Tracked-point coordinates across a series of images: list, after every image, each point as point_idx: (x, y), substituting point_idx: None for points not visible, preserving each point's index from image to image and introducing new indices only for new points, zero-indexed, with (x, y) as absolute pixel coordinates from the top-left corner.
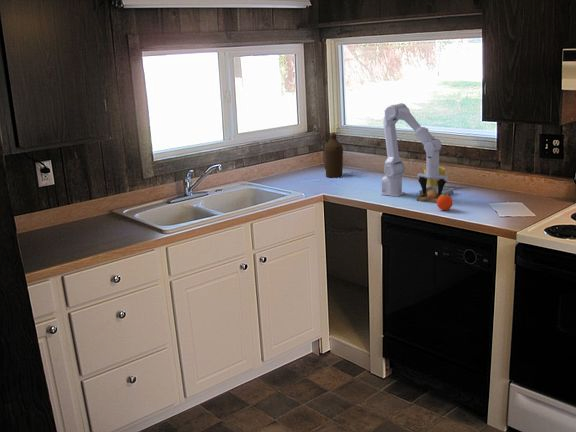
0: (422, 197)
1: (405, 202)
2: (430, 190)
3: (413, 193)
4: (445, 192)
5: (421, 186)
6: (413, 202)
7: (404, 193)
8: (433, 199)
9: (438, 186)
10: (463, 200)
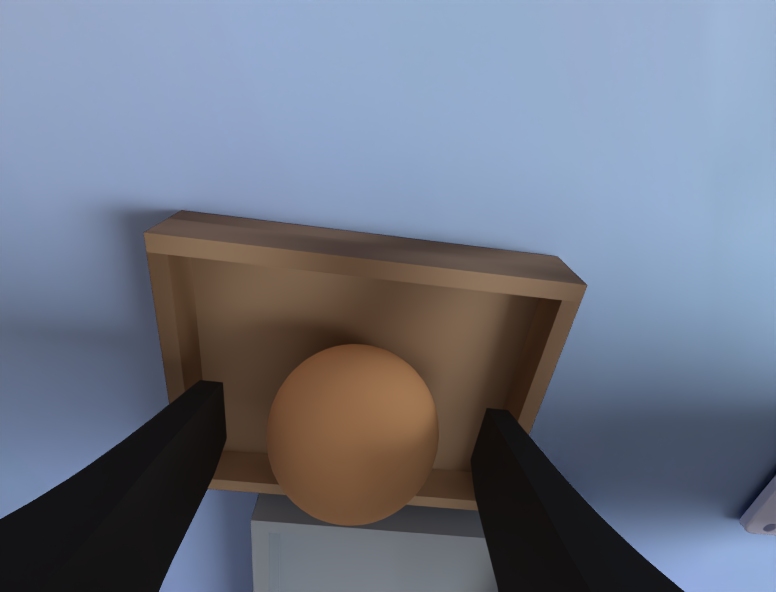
0: (481, 271)
1: (752, 93)
2: (364, 446)
3: (640, 541)
4: (253, 564)
5: (598, 518)
6: (604, 145)
7: (749, 508)
8: (264, 242)
9: (86, 523)
10: (14, 452)
